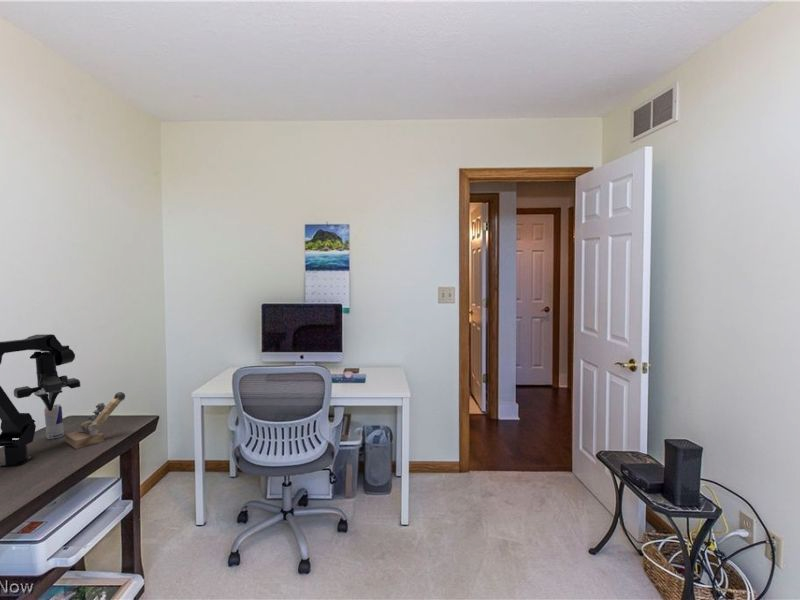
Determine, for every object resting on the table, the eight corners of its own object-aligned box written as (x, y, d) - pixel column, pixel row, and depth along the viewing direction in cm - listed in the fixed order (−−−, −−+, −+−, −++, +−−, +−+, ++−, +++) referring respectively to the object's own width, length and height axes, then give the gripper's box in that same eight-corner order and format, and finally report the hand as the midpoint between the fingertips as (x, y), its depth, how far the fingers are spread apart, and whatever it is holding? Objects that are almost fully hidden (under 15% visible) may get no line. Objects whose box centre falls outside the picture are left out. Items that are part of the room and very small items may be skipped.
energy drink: (67, 434, 182) (64, 404, 181) (56, 439, 176) (53, 408, 176) (54, 434, 182) (52, 404, 181) (43, 439, 177) (40, 408, 176)
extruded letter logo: (102, 412, 210) (101, 400, 209) (106, 412, 210) (105, 399, 210) (83, 430, 186) (82, 417, 185) (88, 430, 186) (87, 416, 186)
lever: (87, 430, 170) (121, 391, 178) (83, 428, 172) (117, 389, 181) (95, 435, 172) (128, 396, 181) (91, 433, 174) (125, 394, 183)
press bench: (76, 448, 166) (74, 429, 166) (65, 441, 173) (64, 423, 173) (104, 441, 173) (102, 422, 173) (93, 434, 180) (91, 417, 180)
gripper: (19, 376, 156) (23, 422, 157) (83, 366, 170) (87, 408, 172) (11, 372, 163) (15, 416, 164) (73, 363, 177) (77, 403, 179)
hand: (50, 410), depth 169 cm, fingers closed
